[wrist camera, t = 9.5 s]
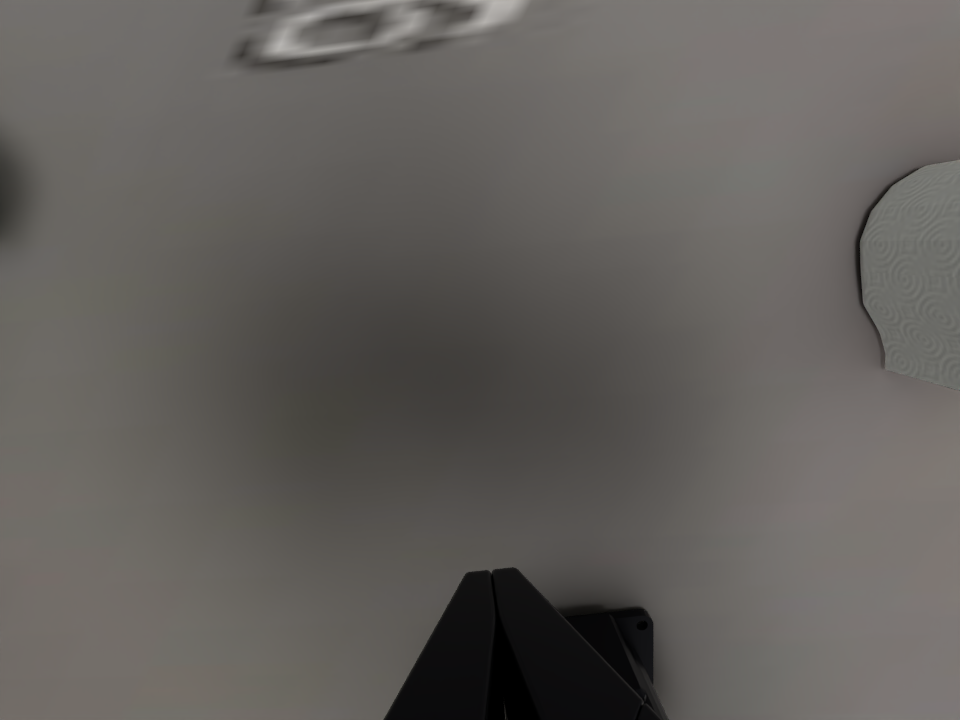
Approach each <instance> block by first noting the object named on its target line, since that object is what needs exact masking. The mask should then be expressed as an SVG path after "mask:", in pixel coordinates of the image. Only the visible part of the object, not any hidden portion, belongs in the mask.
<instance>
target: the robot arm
mask: <svg viewBox="0 0 960 720" xmlns="http://www.w3.org/2000/svg"><path fill="white" fill-rule="evenodd" d="M642 620H643V622H642V623H640V624H637V623H638V622H639V621H642ZM503 697H504V698H503ZM504 706H505V710H504ZM505 713H506V720H669V719H668V717H667V715H666V713H665V711H664V708H663V706H662V704H661V702H660V700H659V698H658V695H657V693H656V691H655V689H654V687H653V621H652V619H651V617H650V615H649V614H648V612H647V611H645V610H641V609H637V610H628V611H619V612H609V613H600V614H591V615H581V616H572V617H563V616H562V615H561V614H560V613H559V612H558V611H557V610H556V609H555V608H554V607H553V606H552V605H551V604H550V602H549V601H548V600H547V599H546V598H545V597H544V596H543V595H542V594H541V593H540V592H539V591H538V590H537V589H536V588H535V587H534V586H533V585H532V584H531V583H530V582H529V581H528V580H527V579H526V577H525V576H524V575H523V574H522V573H521V572H520V571H519V570H518V569H516V568H514V567H512V568H503V569H495V570H493V571H492V575H491V573H490V571H488V570H484V571H474V572H468V573H466V574H465V576H464V577H463V579H462V581H461V583H460V584H459V586H458V588H457V590H456V592H455V593H454V595H453V597H452V599H451V601H450V602H449V604H448V606H447V608H446V609H445V611H444V613H443V615H442V617H441V618H440V620H439V622H438V624H437V625H436V627H435V629H434V631H433V633H432V634H431V636H430V638H429V640H428V642H427V643H426V645H425V647H424V649H423V650H422V652H421V654H420V656H419V658H418V659H417V661H416V663H415V665H414V666H413V668H412V670H411V672H410V674H409V675H408V677H407V679H406V681H405V682H404V684H403V686H402V688H401V690H400V691H399V693H398V695H397V697H396V699H395V700H394V702H393V704H392V706H391V707H390V709H389V711H388V713H387V715H386V716H385V718H384V720H505Z"/></svg>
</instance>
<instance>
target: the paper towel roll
mask: <svg viewBox="0 0 960 720" xmlns="http://www.w3.org/2000/svg"><path fill="white" fill-rule="evenodd" d="M860 264H861V282H862V295H863V304H864V306H865V308H866V310H867V311H868V313H869V315H870V317H871V318H872V320H873V322H874V324H875V325H876V327H877V329H878V331H879V332H880V336H881V339H882V343H883V347H884V350H885V354H886V355H885V370H888V371H892V372H895V373H899V374H902V375H906V376H909V377H913V378H916V379H920V380H924V381H927V382H931V383H934V384H938V385H941V386H945V387H948V388H952V389H955V390H959V391H960V160H955V161H949V162H943V163H937V164H932V165H926V166H924V167H922V168H920V169H918V170H917V171H915V172H913V173H912V174H910V175H909V176H907V177H905V178H904V179H902V180H900V181H899V182H897V183H896V184H894V185H892V186H891V188H890V189H889V190H888V191H887V193H886V194H885V195H884V196H883V197H882V199H881V200H880V201H879V202H878V204H877V205H876V206H875V207H874V208H873V210H872V211H871V213H870V216H869V218H868V221H867V224H866V226H865V229H864V232H863V235H862V237H861V240H860Z"/></svg>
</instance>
